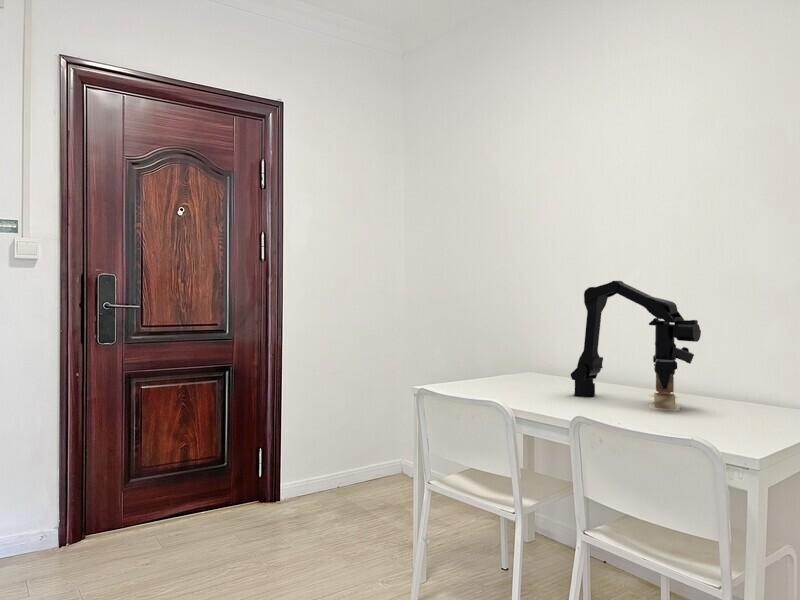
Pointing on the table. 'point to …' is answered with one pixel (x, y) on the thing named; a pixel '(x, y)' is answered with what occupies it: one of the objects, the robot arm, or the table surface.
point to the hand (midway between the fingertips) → (664, 387)
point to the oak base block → (664, 400)
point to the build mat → (665, 409)
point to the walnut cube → (669, 388)
